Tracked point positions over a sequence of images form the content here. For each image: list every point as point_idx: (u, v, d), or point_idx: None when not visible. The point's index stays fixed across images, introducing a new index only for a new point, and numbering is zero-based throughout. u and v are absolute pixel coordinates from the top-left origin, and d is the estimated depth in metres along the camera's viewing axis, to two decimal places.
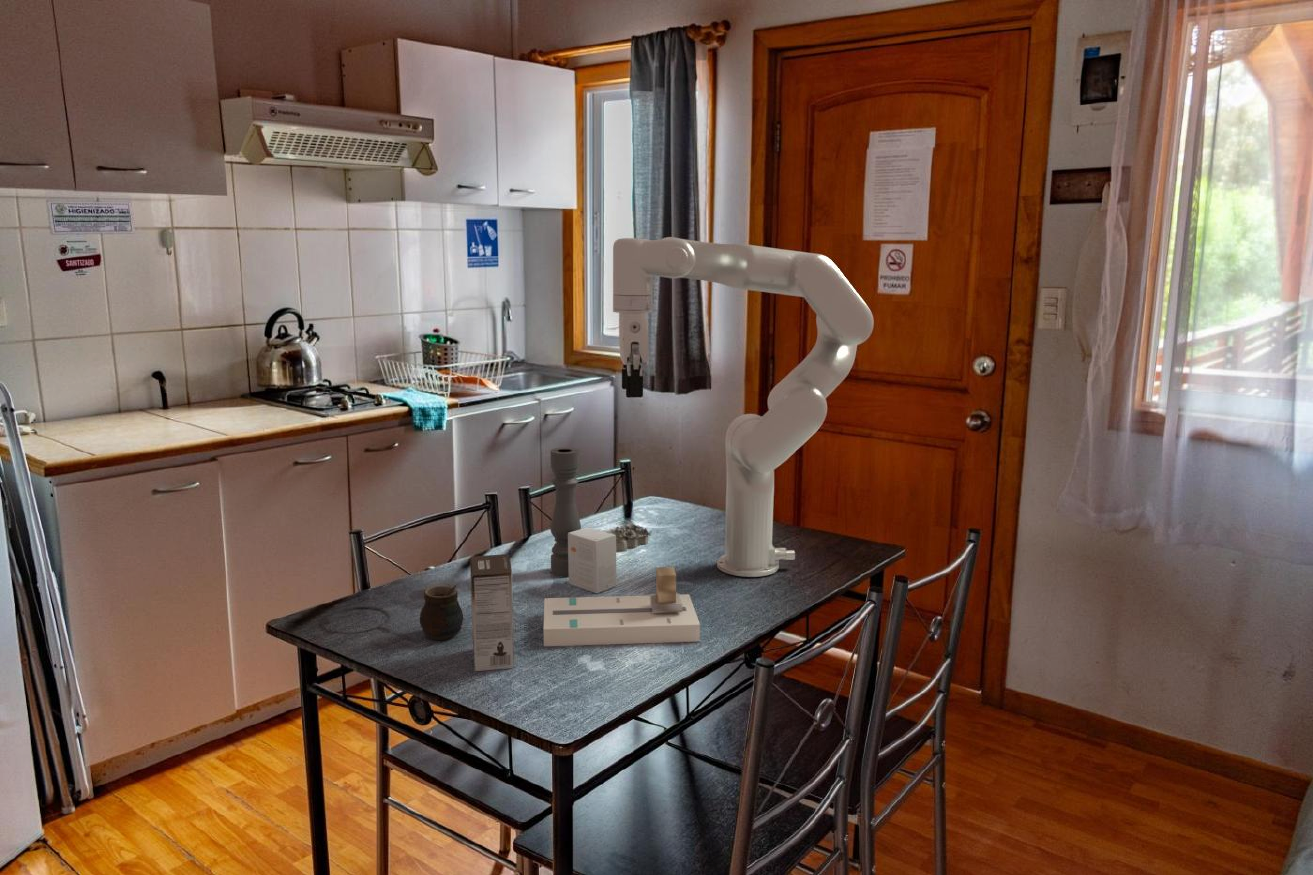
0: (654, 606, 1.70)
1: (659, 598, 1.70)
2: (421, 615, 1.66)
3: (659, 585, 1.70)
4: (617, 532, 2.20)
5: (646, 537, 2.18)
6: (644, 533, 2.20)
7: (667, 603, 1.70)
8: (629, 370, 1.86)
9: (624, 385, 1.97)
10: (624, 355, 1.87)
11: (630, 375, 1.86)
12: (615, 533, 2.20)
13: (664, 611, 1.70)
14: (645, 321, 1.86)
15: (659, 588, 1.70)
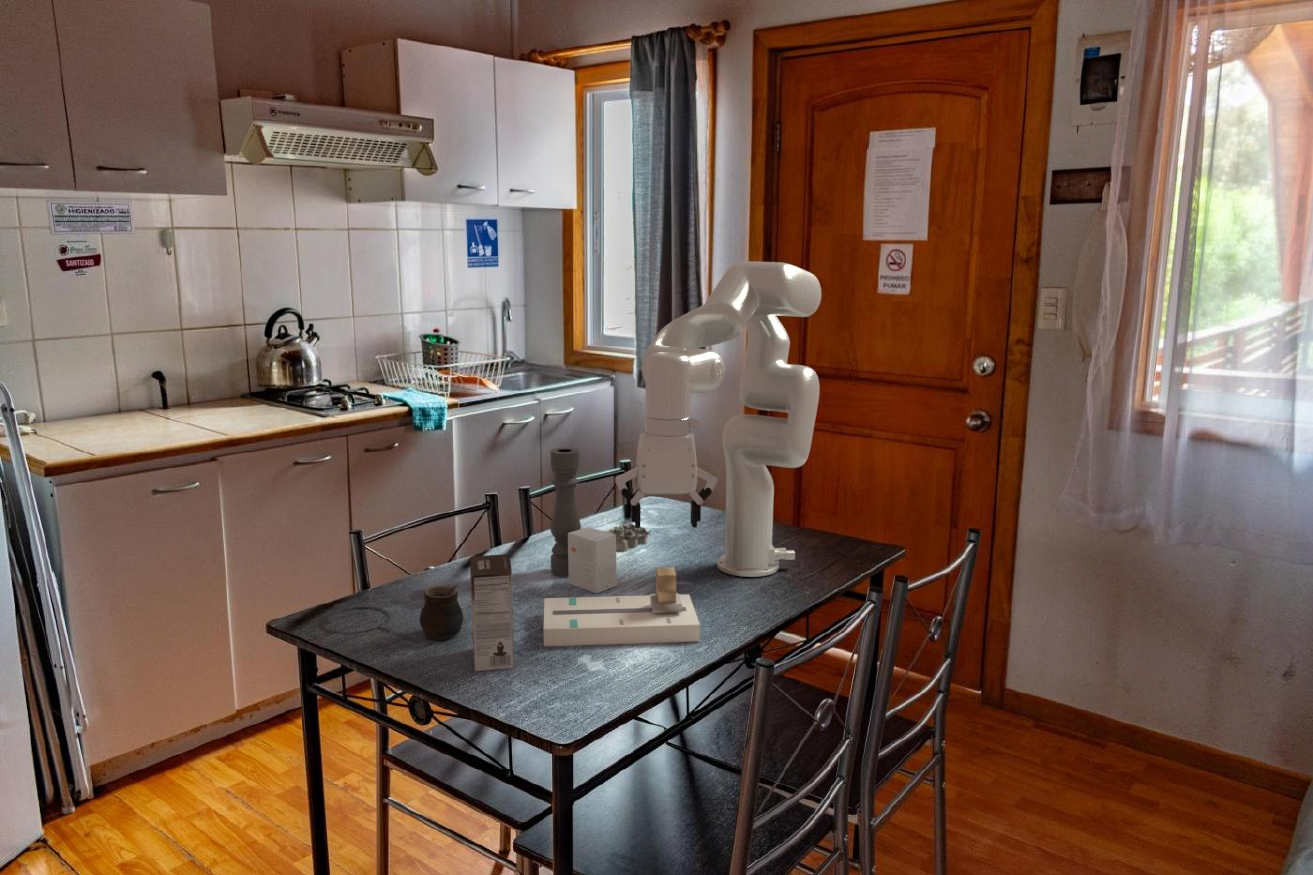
0: (654, 606, 1.70)
1: (659, 598, 1.70)
2: (421, 615, 1.66)
3: (659, 585, 1.70)
4: (616, 532, 2.20)
5: (645, 536, 2.18)
6: (643, 532, 2.20)
7: (667, 603, 1.70)
8: (700, 497, 1.68)
9: None
10: (695, 483, 1.66)
11: None
12: (614, 533, 2.20)
13: (664, 611, 1.70)
14: None
15: (659, 588, 1.70)
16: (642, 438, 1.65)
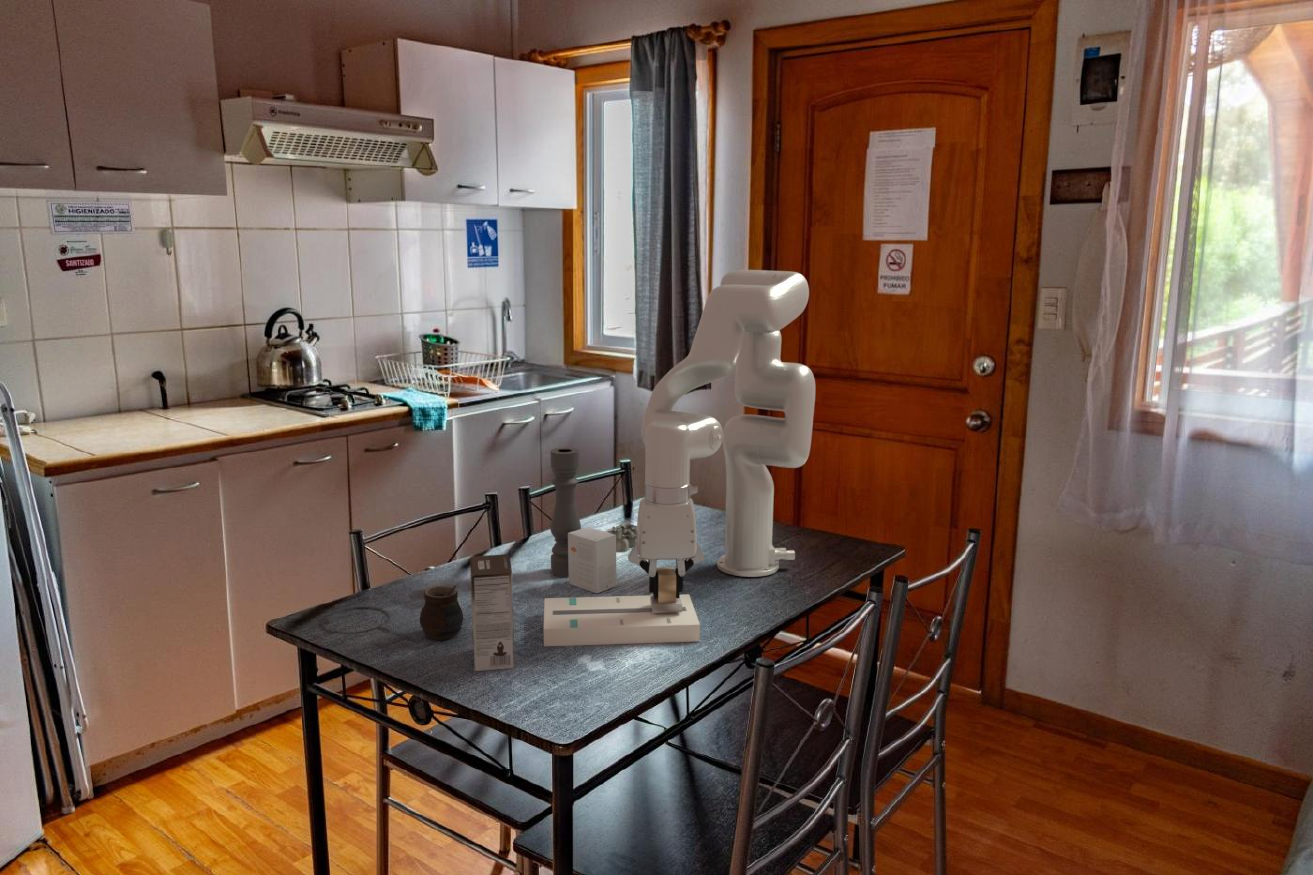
0: (654, 606, 1.70)
1: (659, 598, 1.70)
2: (421, 615, 1.66)
3: (659, 585, 1.70)
4: (614, 532, 2.20)
5: None
6: None
7: (667, 603, 1.70)
8: None
9: None
10: (694, 548, 1.69)
11: (684, 573, 1.71)
12: (612, 533, 2.20)
13: (664, 611, 1.70)
14: None
15: (659, 588, 1.70)
16: (642, 505, 1.67)
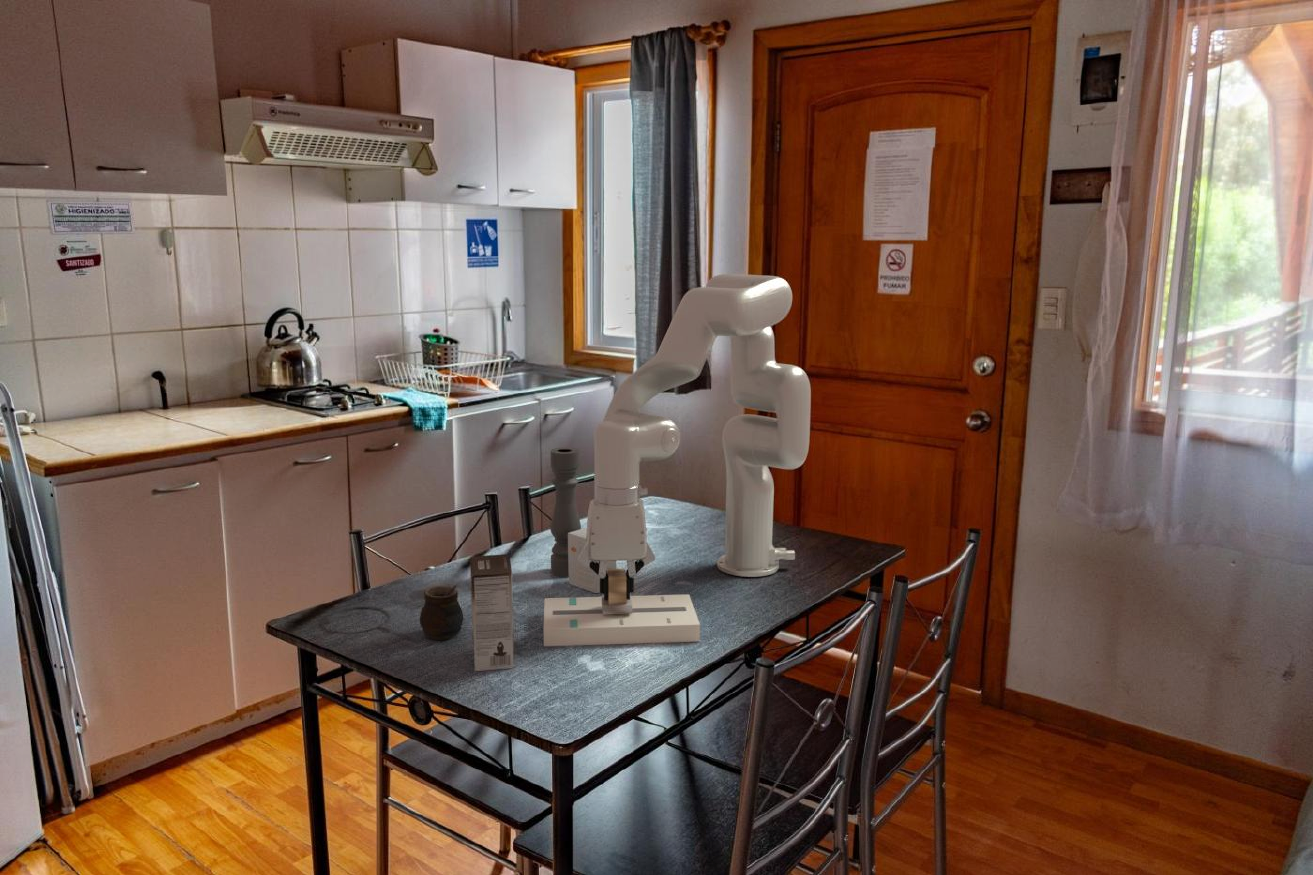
0: (604, 607, 1.69)
1: (609, 600, 1.69)
2: (421, 615, 1.66)
3: (609, 586, 1.69)
4: None
5: None
6: None
7: (617, 604, 1.69)
8: None
9: (608, 595, 1.70)
10: (644, 549, 1.68)
11: (635, 574, 1.70)
12: None
13: (614, 613, 1.69)
14: None
15: (609, 589, 1.69)
16: (591, 506, 1.67)
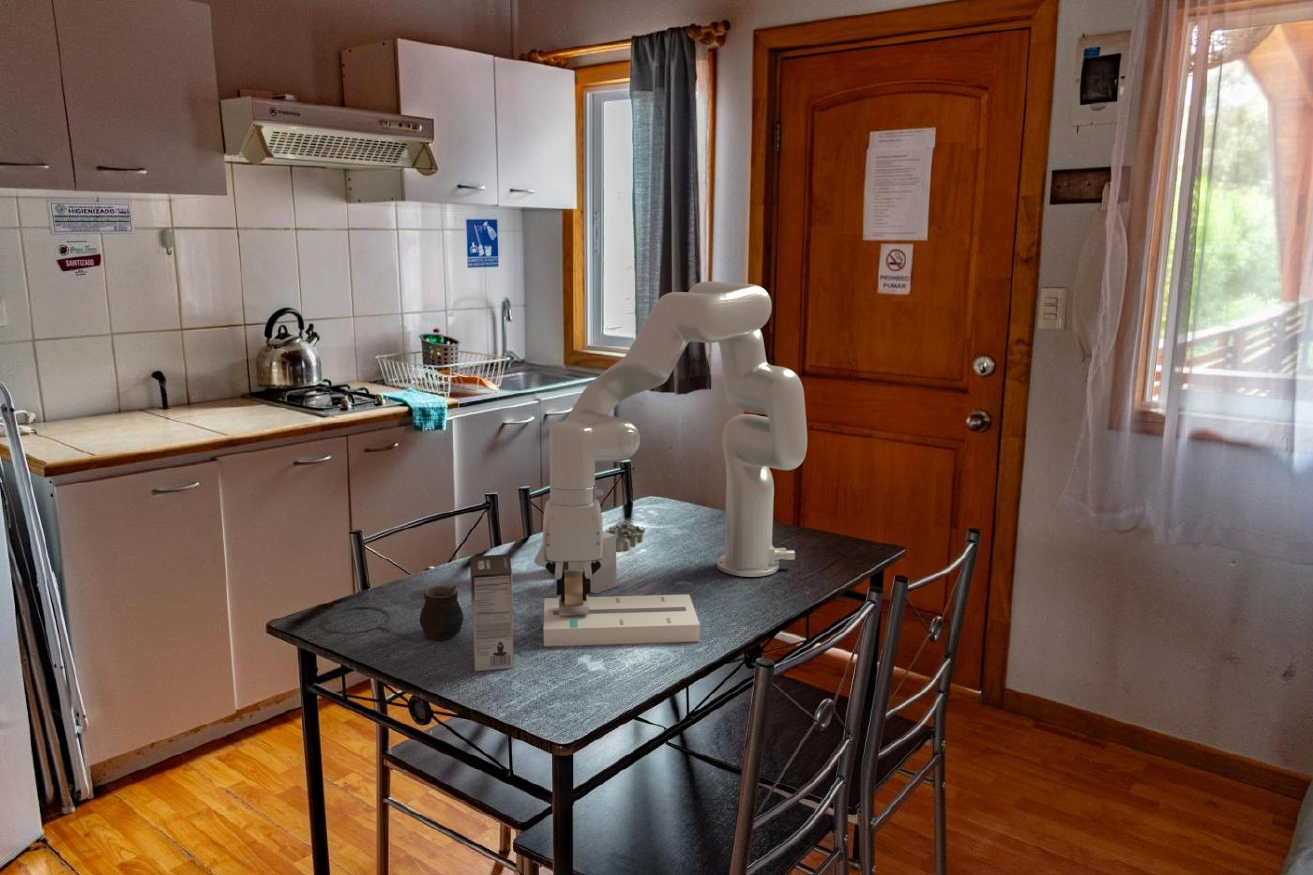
0: (560, 609, 1.68)
1: (565, 601, 1.69)
2: (421, 615, 1.66)
3: (565, 587, 1.68)
4: (611, 532, 2.19)
5: (642, 534, 2.19)
6: (636, 531, 2.22)
7: (574, 606, 1.69)
8: None
9: (564, 596, 1.69)
10: (600, 550, 1.67)
11: (591, 575, 1.69)
12: None
13: (570, 614, 1.69)
14: None
15: (565, 591, 1.68)
16: (547, 507, 1.66)
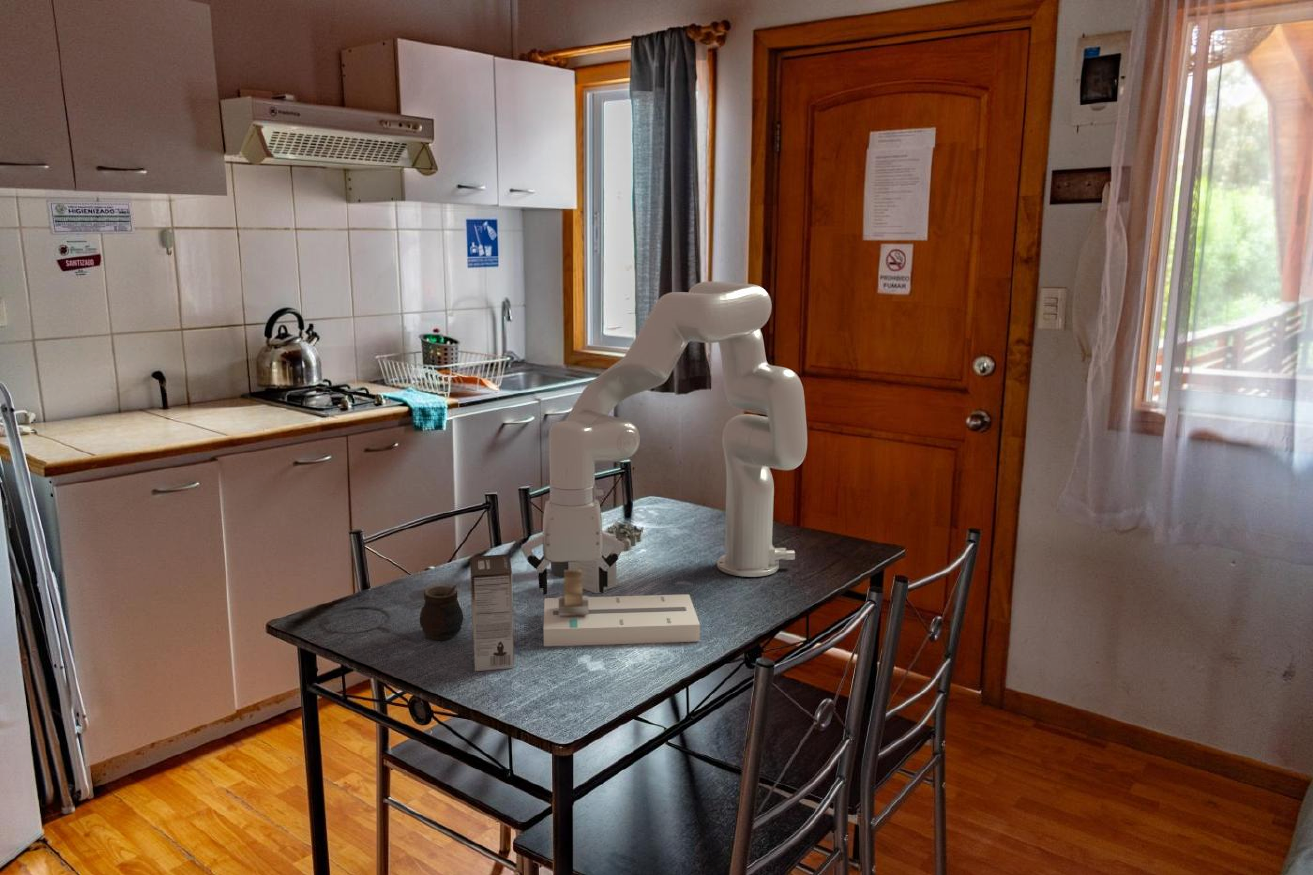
0: (560, 609, 1.68)
1: (565, 601, 1.69)
2: (421, 615, 1.66)
3: (565, 587, 1.68)
4: None
5: (640, 534, 2.20)
6: (634, 531, 2.22)
7: (573, 606, 1.69)
8: (607, 563, 1.69)
9: None
10: (600, 550, 1.67)
11: (608, 568, 1.69)
12: None
13: (570, 614, 1.69)
14: None
15: (565, 591, 1.68)
16: (546, 507, 1.66)
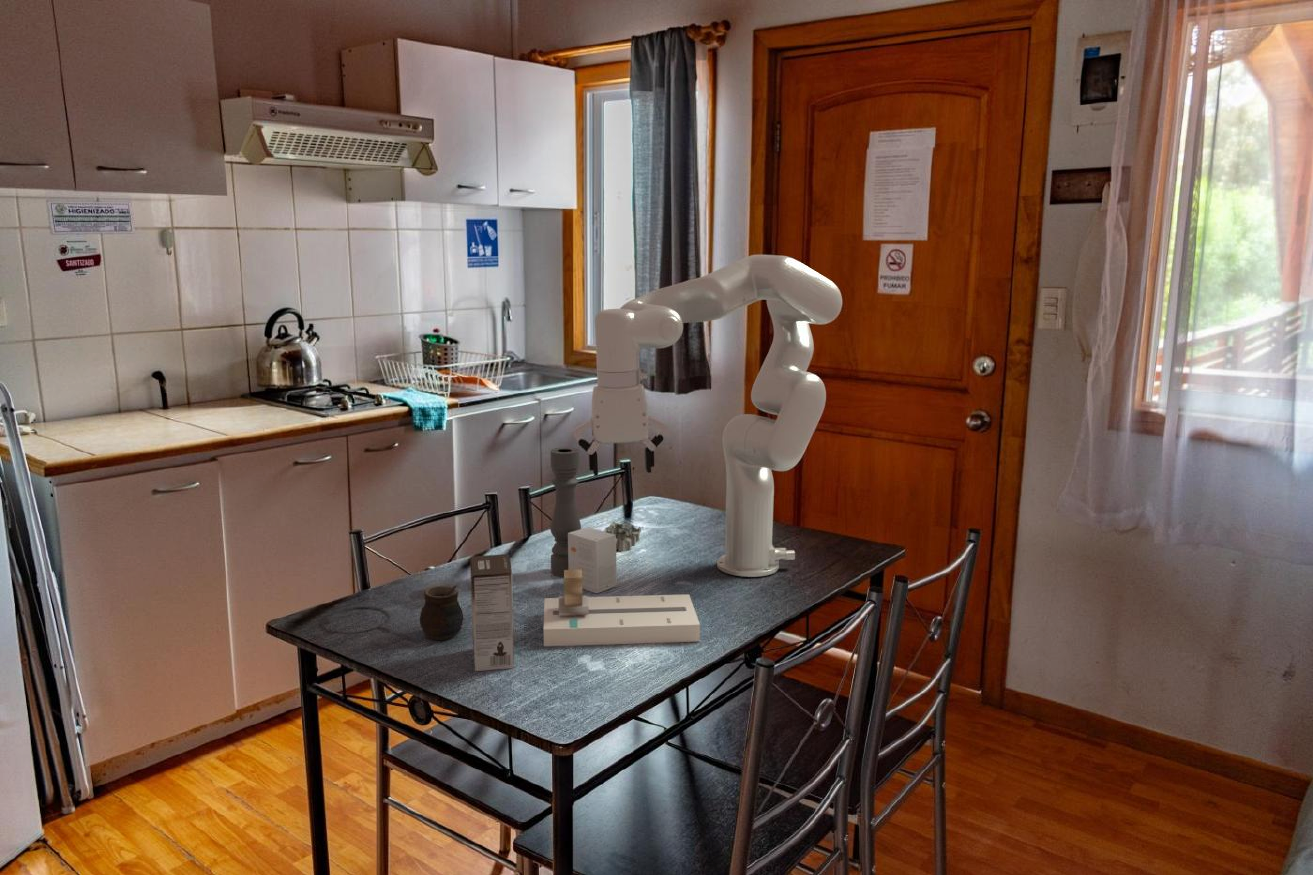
0: (560, 609, 1.68)
1: (565, 601, 1.69)
2: (421, 615, 1.66)
3: (565, 587, 1.68)
4: None
5: (639, 533, 2.20)
6: (631, 530, 2.22)
7: (573, 606, 1.69)
8: (653, 443, 1.79)
9: (597, 471, 1.79)
10: (647, 430, 1.77)
11: (655, 448, 1.79)
12: None
13: (570, 614, 1.69)
14: None
15: (565, 591, 1.68)
16: (595, 391, 1.76)
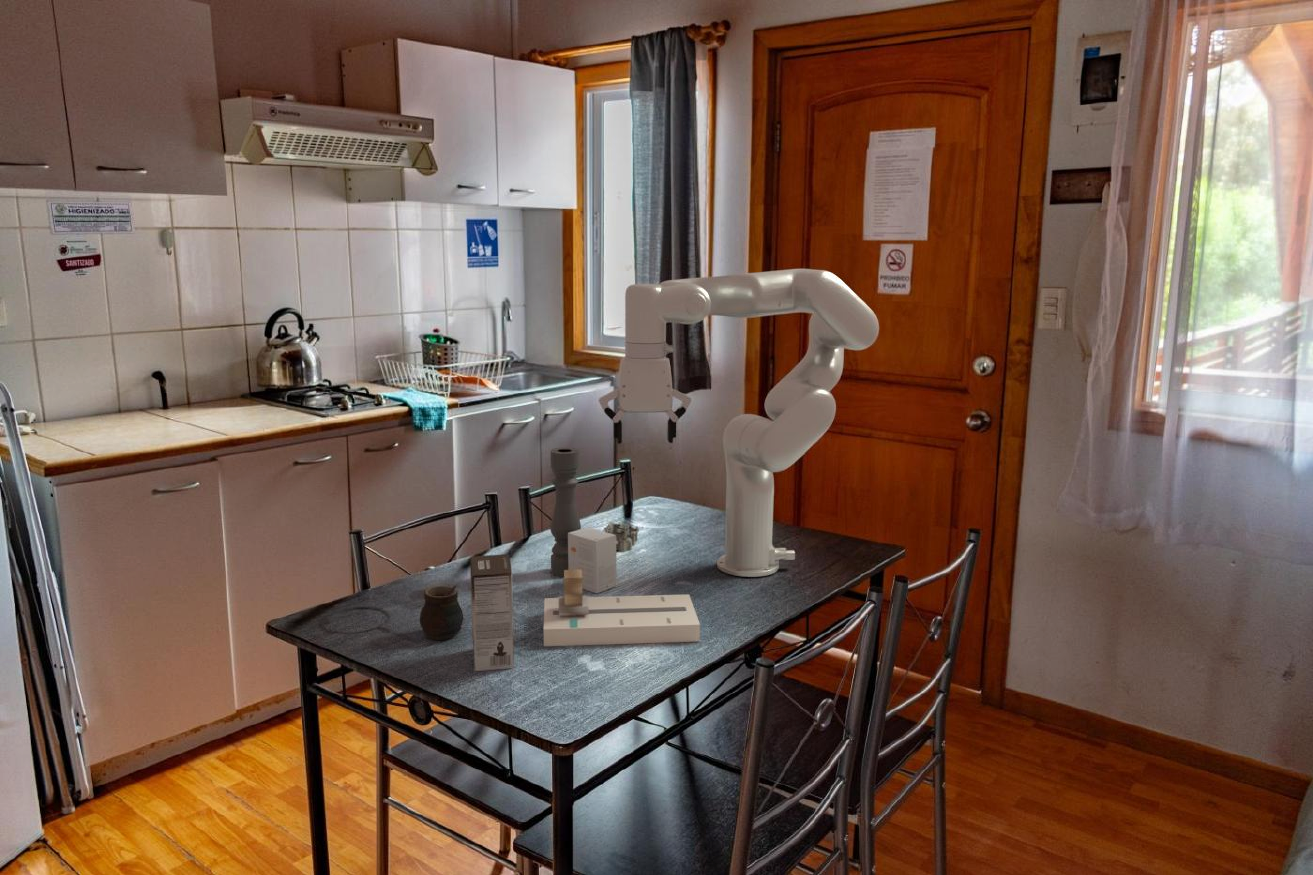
0: (560, 609, 1.68)
1: (565, 601, 1.69)
2: (421, 615, 1.66)
3: (565, 587, 1.68)
4: None
5: (637, 533, 2.20)
6: (629, 530, 2.22)
7: (573, 606, 1.69)
8: (676, 415, 1.86)
9: (621, 439, 1.86)
10: (670, 402, 1.85)
11: (677, 419, 1.87)
12: None
13: (570, 614, 1.69)
14: None
15: (565, 591, 1.68)
16: (622, 361, 1.83)
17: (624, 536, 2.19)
